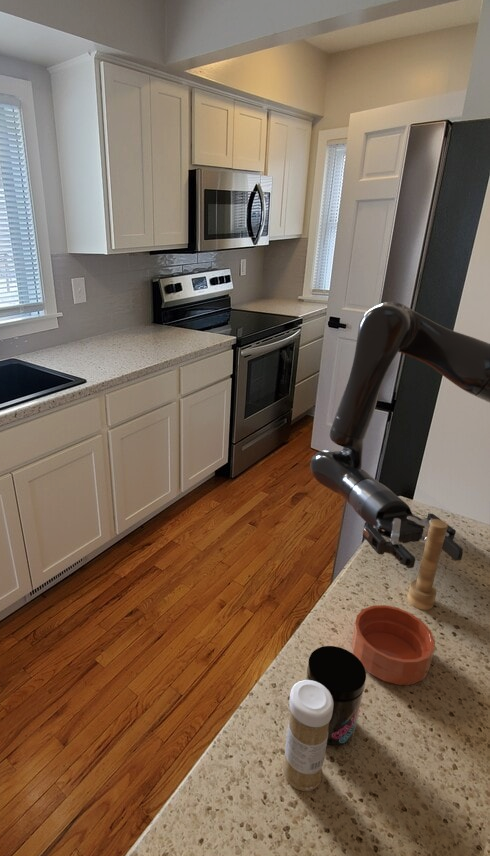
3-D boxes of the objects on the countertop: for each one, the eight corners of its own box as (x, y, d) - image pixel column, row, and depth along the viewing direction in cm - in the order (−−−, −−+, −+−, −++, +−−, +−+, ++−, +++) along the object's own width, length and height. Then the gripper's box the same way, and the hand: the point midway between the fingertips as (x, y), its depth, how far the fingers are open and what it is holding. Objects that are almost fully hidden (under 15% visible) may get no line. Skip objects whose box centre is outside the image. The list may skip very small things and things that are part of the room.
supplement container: (321, 758, 60) (331, 700, 55) (291, 710, 66) (297, 654, 61) (366, 739, 62) (379, 681, 57) (332, 694, 68) (341, 639, 63)
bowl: (398, 623, 79) (403, 600, 77) (444, 680, 69) (452, 655, 67) (338, 634, 77) (341, 610, 75) (376, 694, 67) (382, 668, 65)
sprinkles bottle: (308, 749, 61) (319, 673, 55) (328, 787, 57) (342, 709, 51) (275, 759, 60) (283, 683, 54) (293, 798, 56) (303, 720, 50)
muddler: (423, 591, 85) (441, 514, 78) (438, 607, 81) (459, 529, 75) (402, 594, 84) (419, 518, 78) (417, 611, 81) (436, 532, 74)
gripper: (346, 494, 90) (400, 547, 75) (415, 484, 92) (481, 534, 78) (341, 527, 93) (392, 585, 78) (408, 517, 95) (470, 572, 81)
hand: (436, 560), depth 78 cm, fingers open, 8 cm apart
